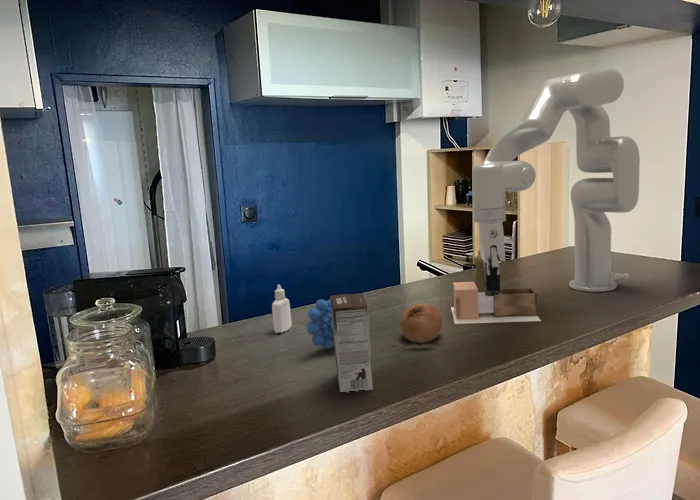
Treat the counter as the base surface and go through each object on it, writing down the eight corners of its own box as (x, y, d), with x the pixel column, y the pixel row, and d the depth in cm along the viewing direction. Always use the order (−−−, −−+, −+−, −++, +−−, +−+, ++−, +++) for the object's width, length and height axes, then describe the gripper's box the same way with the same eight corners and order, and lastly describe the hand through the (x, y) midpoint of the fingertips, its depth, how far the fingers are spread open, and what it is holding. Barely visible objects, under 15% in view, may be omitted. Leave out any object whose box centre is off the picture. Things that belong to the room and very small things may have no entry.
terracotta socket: (475, 309, 135) (474, 281, 134) (478, 319, 127) (477, 289, 126) (454, 310, 136) (453, 282, 134) (456, 319, 128) (455, 290, 126)
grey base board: (528, 308, 136) (528, 304, 136) (541, 324, 122) (541, 320, 122) (451, 310, 139) (450, 307, 139) (455, 327, 125) (454, 323, 125)
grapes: (324, 361, 110) (319, 307, 108) (302, 355, 114) (297, 303, 112) (360, 345, 118) (356, 293, 116) (338, 339, 123) (334, 290, 121)
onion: (420, 360, 114) (410, 328, 109) (397, 338, 122) (387, 307, 116) (454, 338, 117) (446, 305, 111) (429, 318, 124) (421, 286, 119)
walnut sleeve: (531, 308, 132) (531, 287, 131) (537, 315, 126) (536, 293, 125) (491, 310, 133) (490, 289, 132) (494, 317, 127) (494, 295, 127)
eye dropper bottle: (297, 329, 133) (293, 283, 131) (278, 335, 129) (273, 288, 127) (288, 326, 136) (284, 281, 134) (269, 331, 133) (264, 286, 131)
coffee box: (336, 374, 103) (329, 295, 100) (368, 370, 103) (362, 292, 101) (339, 394, 94) (332, 307, 91) (374, 390, 94) (368, 304, 92)
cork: (492, 288, 158) (491, 253, 157) (495, 293, 153) (494, 256, 151) (472, 289, 159) (471, 254, 157) (475, 294, 153) (473, 257, 151)
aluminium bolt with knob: (499, 307, 132) (498, 264, 130) (502, 312, 128) (501, 267, 126) (459, 308, 133) (458, 266, 132) (461, 313, 129) (459, 269, 127)
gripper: (511, 218, 118) (513, 296, 121) (499, 210, 134) (501, 279, 137) (478, 220, 119) (480, 297, 122) (470, 212, 135) (472, 281, 138)
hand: (491, 287), depth 129 cm, fingers open, 3 cm apart
